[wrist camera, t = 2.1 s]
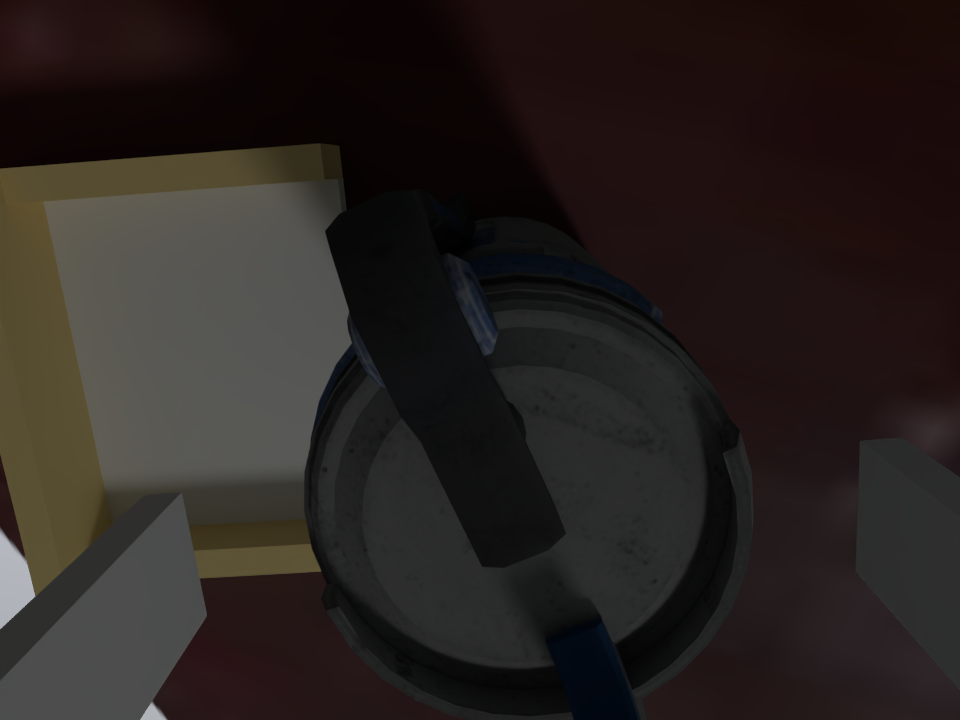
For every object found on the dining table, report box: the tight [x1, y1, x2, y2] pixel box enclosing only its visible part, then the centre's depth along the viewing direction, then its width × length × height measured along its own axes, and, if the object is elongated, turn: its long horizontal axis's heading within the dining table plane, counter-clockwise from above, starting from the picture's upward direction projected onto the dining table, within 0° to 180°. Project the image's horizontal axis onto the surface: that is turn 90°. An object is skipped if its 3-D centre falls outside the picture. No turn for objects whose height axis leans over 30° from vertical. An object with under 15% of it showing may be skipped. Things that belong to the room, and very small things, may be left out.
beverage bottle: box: [304, 189, 753, 720], centre depth 25 cm, size 10×13×25 cm
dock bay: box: [0, 143, 352, 596], centre depth 36 cm, size 20×16×6 cm
